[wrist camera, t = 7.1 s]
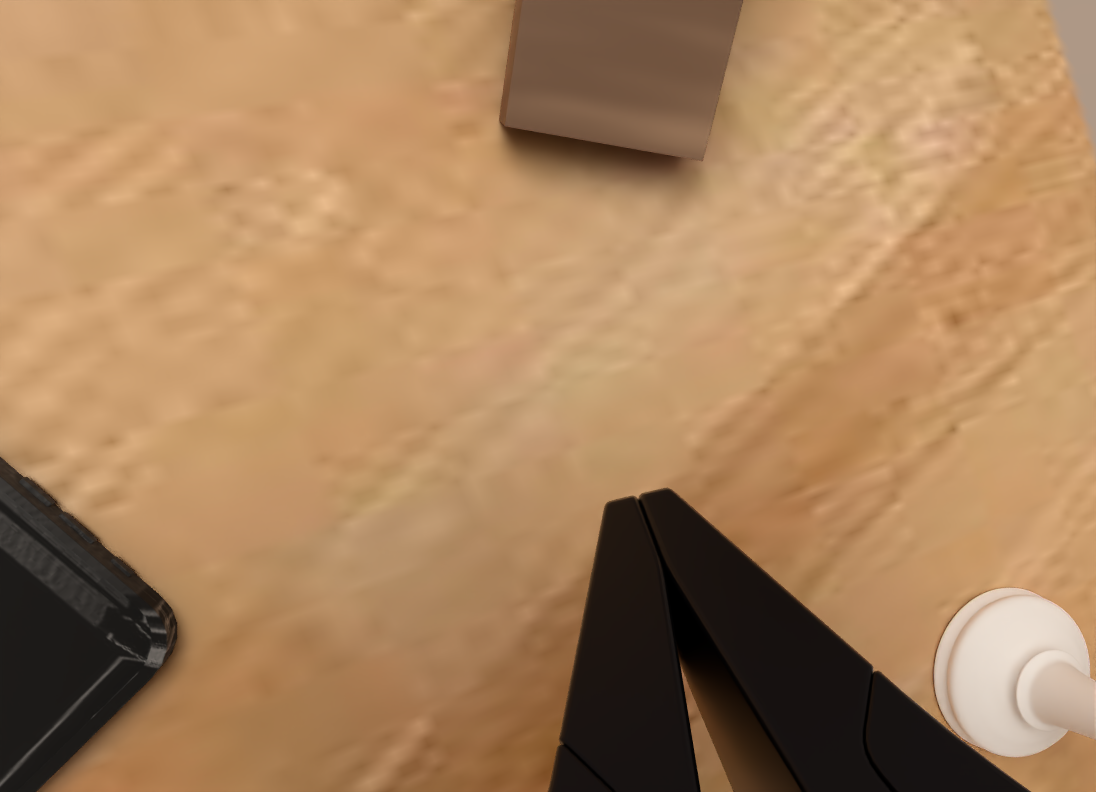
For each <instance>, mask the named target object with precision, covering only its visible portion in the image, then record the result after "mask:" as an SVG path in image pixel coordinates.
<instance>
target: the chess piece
mask: <svg viewBox="0 0 1096 792" xmlns="http://www.w3.org/2000/svg"><path fill="white" fill-rule="evenodd" d="M934 687H935V693H936V697H937V701H938V704H939V707H940V709H941V712H942V714H943V716H944V718H945V719H946V721H947V722H948V724H949V725H950V726H951V728H952V729H953V730H954V731H955V732H956V733H957V734H958V735H959V736H960V737H962V738H963V739H964V740H966V741H967V742H969V743H971V744H973V745H975V746H977V747H980V748H983V749H985V750H987V751H989V752H991V753H994V754H997V755H1001V756H1006V757H1024V756H1029V755H1033V754H1036V753H1039V752H1041V751H1043V750H1045V749H1047V748H1049V747H1050V746H1052V745H1053V744H1055V743H1056V742H1057V741H1058V740H1060V739H1061V738H1062V737H1063V736H1064V735H1065V734H1066V733H1067V732H1068V730H1070V731H1073V732H1076V733H1078V734H1081V735H1084V736H1086V737H1089V738H1092V739H1094V740H1096V681H1095V680H1093V679H1092V678H1090V661H1089V654H1088V650H1087V646H1086V643H1085V640H1084V637H1083V635H1082V633H1081V631H1080V629H1079V627H1078V626H1077V624H1076V623H1075V621H1074V620H1073V619H1072V618H1071V616H1070V615H1069V614H1068V613H1067V612H1066V611H1064V610H1063V609H1062V608H1061V607H1059V606H1058V605H1056V604H1055V603H1053V602H1051V601H1049V600H1047V599H1044V598H1043V597H1041V596H1039V595H1037V594H1036V593H1033V592H1031V591H1028V590H1025V589H1020V588H999V589H994V590H991V591H988V592H985V593H983V594H981V595H979V596H977V597H976V598H974V599H972V600H971V601H970V602H968V603H967V604H966V605H965V606H964V607H963V608H961V609H960V611H959V612H958V613H957V614H956V615H955V616H954V617H953V619H952V620H951V622H950V623H949V625H948V626H947V628H946V630H945V632H944V634H943V636H942V638H941V641H940V643H939V646H938V649H937V653H936V658H935V665H934Z"/></svg>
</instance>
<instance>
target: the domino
mask: <svg viewBox="0 0 1096 792" xmlns="http://www.w3.org/2000/svg"><path fill="white" fill-rule="evenodd" d="M742 3H743V0H516V1H515V8H514V16H513V23H512V30H511V37H510V45H509V52H508V59H507V67H506V74H505V81H504V88H503V96H502V103H501V110H500V118H499V121H500V122H501V123H502V124H503V125H504V126H506V127H512V128H518V129H523V130H529V131H535V132H540V133H546V134H552V135H557V136H563V137H569V138H574V139H580V140H586V141H591V142H597V143H603V144H608V145H614V146H620V147H625V148H631V149H637V150H642V151H648V152H654V153H660V154H665V155H671V156H677V157H682V158H688V159H694V160H699V161H703V158H704V154H705V150H706V146H707V142H708V138H709V134H710V130H711V126H712V122H713V118H714V114H715V110H716V106H717V102H718V98H719V94H720V90H721V86H722V82H723V78H724V74H725V70H726V66H727V62H728V58H729V54H730V50H731V46H732V42H733V38H734V34H735V30H736V26H737V22H738V18H739V14H740V10H741V7H742Z"/></svg>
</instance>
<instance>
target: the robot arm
mask: <svg viewBox="0 0 1096 792" xmlns="http://www.w3.org/2000/svg"><path fill="white" fill-rule="evenodd" d="M680 664H681V666H680ZM681 667H682V669H683V672H684V674H685V677H686V680H687V682H688V684H689V687H690V689H691V692H692V694H693V696H694V699H695V701H696V703H697V706H698V708H699V711H700V713H701V715H702V718H703V720H704V722H705V725H706V727H707V730H708V732H709V734H710V737H711V739H712V741H713V744H714V746H715V748H716V751H717V753H718V756H719V758H720V760H721V763H722V765H723V767H724V770H725V772H726V775H727V777H728V779H729V782H730V784H731V786H732V789H733V791H734V792H1031V791H1029V790H1028V789H1027V788H1025V787H1024V786H1022V785H1021V784H1020V783H1018V782H1017V781H1016V780H1014V779H1013V778H1011V777H1010V776H1009V775H1007V774H1006V773H1005V772H1003V771H1002V770H1001V769H999V768H998V767H997V766H995V765H994V764H993V763H991V762H990V761H989V760H987V759H986V758H985V757H983V756H982V755H981V754H979V753H978V752H977V751H975V750H974V749H973V748H971V747H970V746H969V745H967V744H966V743H965V742H963V741H962V740H961V739H959V738H958V737H957V736H955V735H954V734H953V733H952V732H950V731H949V730H948V729H947V728H946V727H944V726H943V725H942V724H941V723H939V722H938V721H937V720H936V719H935V718H933V717H932V716H931V715H930V714H929V713H927V712H926V711H925V710H924V709H923V708H921V707H920V706H919V705H918V704H917V703H915V702H914V701H913V700H912V699H911V698H909V697H908V696H907V695H906V694H905V693H904V692H903V691H901V690H900V689H899V688H898V687H897V686H896V685H895V684H893V683H892V682H891V681H890V680H889V679H888V678H887V677H886V676H884V675H883V674H882V673H881V672H880V671H874V672H873V666H872V665H871V664H870V663H869V662H868V661H867V660H866V659H865V658H863V657H862V656H861V655H860V654H859V653H858V652H857V651H855V650H854V649H853V648H852V647H851V646H850V645H849V644H848V643H846V642H845V641H844V640H843V639H842V638H841V637H840V636H838V635H837V634H836V633H835V632H834V631H833V630H832V629H830V628H829V627H828V626H827V625H826V624H825V623H824V622H822V621H821V620H820V619H819V618H818V617H817V616H816V615H814V614H813V613H812V612H811V611H810V610H809V609H808V608H806V607H805V606H804V605H803V604H802V603H801V602H800V601H798V600H797V599H796V598H795V597H794V596H793V595H792V594H791V593H789V592H788V591H787V590H786V589H785V588H784V587H783V586H781V585H780V584H779V583H778V582H777V581H776V580H775V579H773V578H772V577H771V576H770V575H769V574H768V573H767V572H765V571H764V570H763V569H762V568H761V567H760V566H759V565H757V564H756V563H755V562H754V561H753V560H752V559H751V558H749V557H748V556H747V555H746V554H745V553H744V552H743V551H741V550H740V549H739V548H738V547H737V546H736V545H735V544H734V543H732V542H731V541H730V540H729V539H728V538H727V537H726V536H724V535H723V534H722V533H721V532H720V531H719V530H718V529H716V528H715V527H714V526H713V525H712V524H711V523H710V522H708V521H707V520H706V519H705V518H704V517H703V516H702V515H700V514H699V513H698V512H697V511H696V510H695V509H694V508H692V507H691V506H690V505H689V504H688V503H687V502H686V501H684V500H683V499H682V498H681V497H680V496H679V495H678V494H676V493H675V492H674V491H673V490H671V489H669V488H663V489H658V490H654V491H650V492H646V493H642V494H641V495H640V496H639V499H637V498H636V497H635V496H629V497H624V498H620V499H616V500H612V501H609V502H607V503H606V505H605V507H604V511H603V516H602V521H601V527H600V532H599V537H598V542H597V547H596V552H595V557H594V563H593V568H592V573H591V578H590V583H589V588H588V593H587V599H586V604H585V609H584V614H583V619H582V624H581V630H580V635H579V640H578V645H577V650H576V655H575V660H574V666H573V671H572V676H571V681H570V686H569V691H568V696H567V702H566V707H565V712H564V717H563V722H562V727H561V732H560V738H559V741H560V744H561V745H559V746H558V747H557V751H556V756H555V761H554V766H553V771H552V777H551V781H550V786H549V790H548V792H701V790H700V784H699V778H698V772H697V765H696V759H695V753H694V747H693V741H692V734H691V728H690V722H689V716H688V710H687V704H686V697H685V691H684V685H683V679H682V673H681Z"/></svg>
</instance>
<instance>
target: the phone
mask: <svg viewBox="0 0 1096 792" xmlns="http://www.w3.org/2000/svg"><path fill="white" fill-rule="evenodd" d="M55 503H56V502H55V501H54V500H53V499H52V498H51V497H50V496H48V495H47V494H46V493H45V492H44V491H43V490H42V489H40V488H39V487H38V486H37V485H36V484H35V483H34V482H32V481H31V480H30V479H29V478H27V477H23V476H22V475H21V474H19V473H18V472H17V471H16V470H15V469H14V468H13V467H11V466H10V465H9V464H8V463H7V462H6V461H4V460H3V459H2V458H1V457H0V792H36V791H37V790H38V789H39V788H40V787H41V786H42V785H43V784H44V783H45V782H46V781H47V780H48V779H49V778H51V777H52V776H53V775H54V774H55V773H56V772H57V771H58V770H59V769H60V768H61V767H62V766H63V765H64V764H65V763H66V762H67V761H68V760H69V759H70V758H71V757H72V756H73V755H74V754H75V753H76V752H77V751H78V750H79V749H80V748H81V747H82V746H83V745H84V744H85V743H86V742H87V741H88V740H89V739H90V738H91V737H92V736H93V735H94V734H95V733H96V732H97V731H98V730H99V729H100V728H101V727H102V726H103V725H104V724H105V723H106V722H107V721H108V720H109V719H111V718H112V717H113V716H114V715H115V714H116V713H117V712H118V711H119V710H120V709H121V708H122V707H123V706H124V705H125V704H126V703H127V702H128V701H129V700H130V699H131V698H132V697H133V696H134V695H135V694H136V693H137V692H138V691H139V690H140V689H141V688H142V687H143V686H144V685H145V684H146V683H147V682H148V681H149V680H150V679H151V678H152V677H153V676H154V675H155V673H156V672H157V671H158V670H159V669H160V668H161V666H162V665H163V664H164V663H165V661H166V660H167V659H168V657H169V656H170V655H171V653H172V651H173V648H174V645H175V642H176V639H177V622H176V619H175V617H174V614H173V611H172V609H171V607H170V606H169V605H168V604H167V603H166V601H165V600H164V599H163V598H162V597H161V596H160V595H159V594H158V593H157V592H156V591H154V590H153V589H152V588H151V587H150V586H149V585H147V584H146V583H145V582H144V581H143V580H142V579H141V578H139V577H138V576H137V575H136V574H135V573H134V571H133V570H131V569H130V568H129V567H128V566H127V565H126V564H124V563H123V562H122V561H121V560H120V559H119V558H118V557H115V556H114V555H113V554H112V553H111V552H109V551H108V550H107V549H106V548H105V547H104V546H102V545H101V544H100V543H99V542H98V541H97V538H96V537H94V536H93V535H92V534H91V533H90V532H89V531H88V530H86V529H85V528H84V527H83V526H82V525H81V524H79V523H78V522H77V521H76V520H75V519H74V518H73V517H71V516H70V515H69V514H68V513H67V512H63V511H62V510H61V509H60V508H59V507H57V506H56V505H55Z"/></svg>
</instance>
